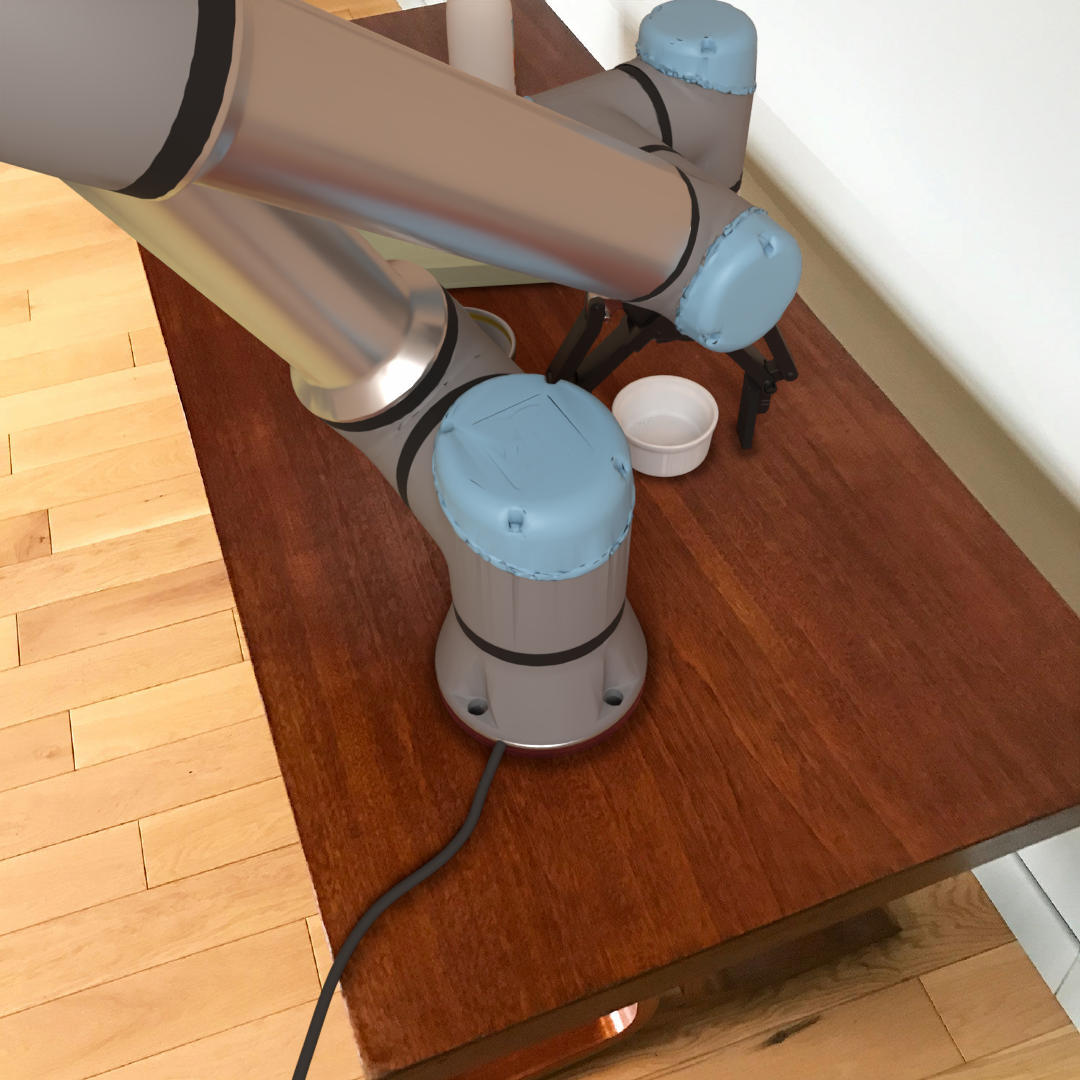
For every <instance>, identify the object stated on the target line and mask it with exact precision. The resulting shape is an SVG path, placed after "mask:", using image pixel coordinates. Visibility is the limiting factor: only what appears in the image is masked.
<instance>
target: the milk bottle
mask: <svg viewBox="0 0 1080 1080" xmlns="http://www.w3.org/2000/svg"><path fill="white" fill-rule="evenodd" d="M445 3H446V4H445V22H446V24H445V25H446V39H447V52H448V53H447V54H448V65H450V66H452V67H455V68H457V69H459V70H461V71H464V72H466V73H468V74H470V75H473V76H475V77H477V78H480V79H482V80H484V81H486V82H489V83H491V84H493V85H496V86H498V87H500V88H502V89H505V90H507V91H509V92H511V93H514V94H516V95H517V80H516V79H517V78H516V75H517V74H516V53H515V32H514V16H513V5H512V1H511V0H446V2H445Z"/></svg>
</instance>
